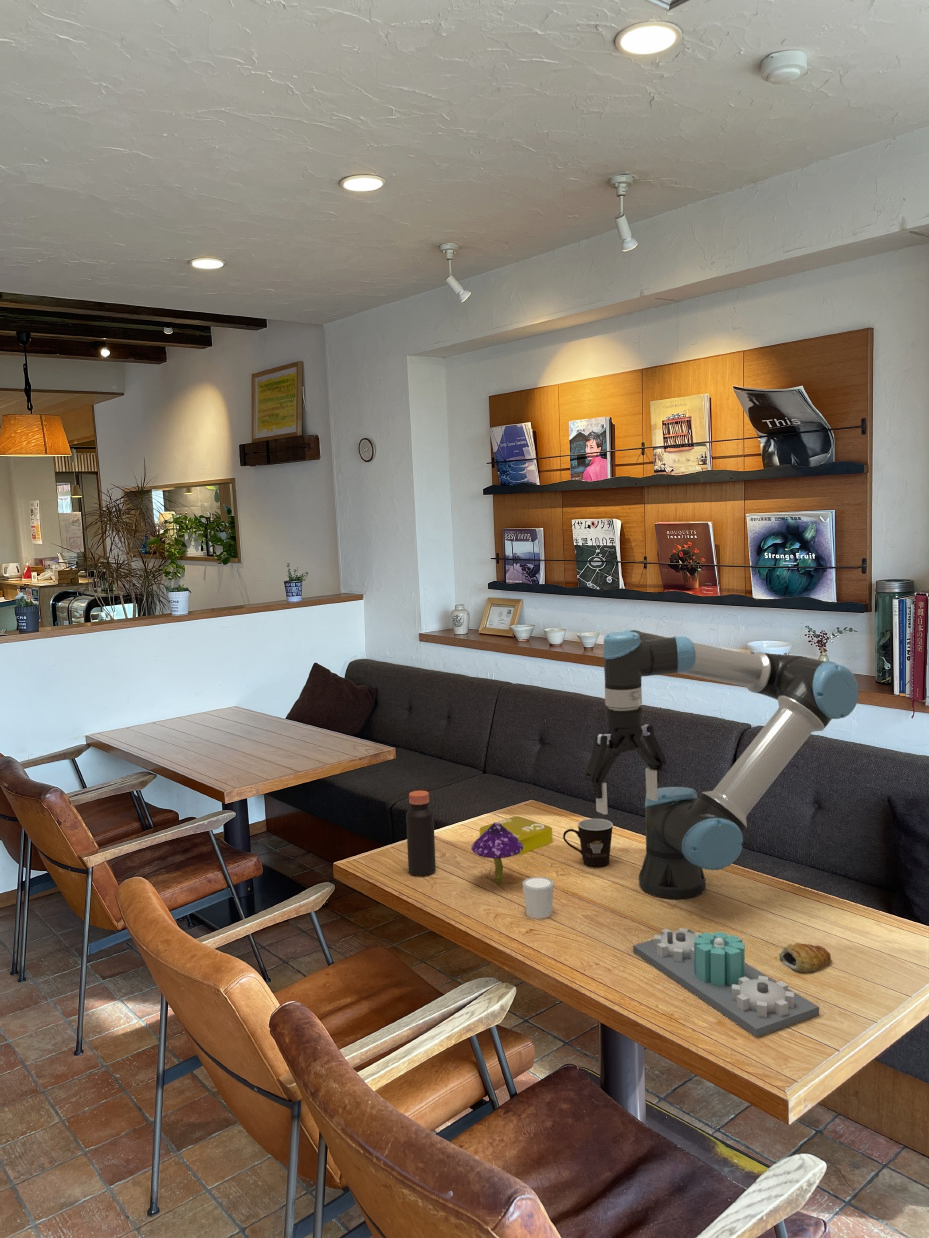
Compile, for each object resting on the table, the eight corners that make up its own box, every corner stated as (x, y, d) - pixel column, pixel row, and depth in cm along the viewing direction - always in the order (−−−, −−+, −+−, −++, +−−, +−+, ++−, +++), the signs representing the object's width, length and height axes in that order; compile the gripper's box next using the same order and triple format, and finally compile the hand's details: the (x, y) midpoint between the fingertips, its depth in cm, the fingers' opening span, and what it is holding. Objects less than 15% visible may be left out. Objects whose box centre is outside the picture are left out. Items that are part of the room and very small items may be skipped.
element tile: (517, 829, 255) (516, 813, 254) (555, 843, 243) (555, 825, 243) (476, 843, 245) (476, 826, 245) (514, 857, 234) (514, 839, 233)
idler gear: (721, 957, 174) (721, 927, 173) (754, 978, 166) (754, 946, 165) (684, 969, 170) (684, 938, 169) (716, 990, 162) (716, 958, 162)
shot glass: (552, 920, 196) (551, 889, 195) (521, 919, 197) (520, 888, 197) (556, 907, 203) (555, 877, 202) (525, 905, 204) (524, 875, 203)
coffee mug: (618, 860, 229) (617, 821, 228) (605, 872, 221) (605, 832, 220) (575, 852, 235) (575, 815, 234) (562, 864, 227) (561, 825, 226)
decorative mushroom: (461, 883, 218) (459, 822, 216) (499, 868, 226) (497, 810, 224) (497, 898, 208) (495, 835, 207) (535, 882, 216) (534, 821, 215)
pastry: (815, 951, 179) (815, 932, 178) (840, 967, 172) (840, 947, 172) (776, 961, 175) (776, 942, 175) (800, 977, 169) (800, 957, 169)
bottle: (433, 877, 222) (429, 797, 220) (405, 876, 223) (402, 797, 221) (438, 866, 229) (435, 789, 226) (411, 866, 230) (408, 789, 228)
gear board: (689, 936, 186) (689, 896, 186) (819, 1015, 156) (819, 968, 155) (633, 952, 180) (632, 911, 180) (756, 1037, 150) (756, 989, 149)
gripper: (587, 719, 180) (591, 823, 182) (681, 700, 192) (684, 797, 194) (564, 713, 186) (568, 813, 188) (656, 695, 198) (660, 789, 201)
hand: (627, 805), depth 191 cm, fingers open, 13 cm apart
